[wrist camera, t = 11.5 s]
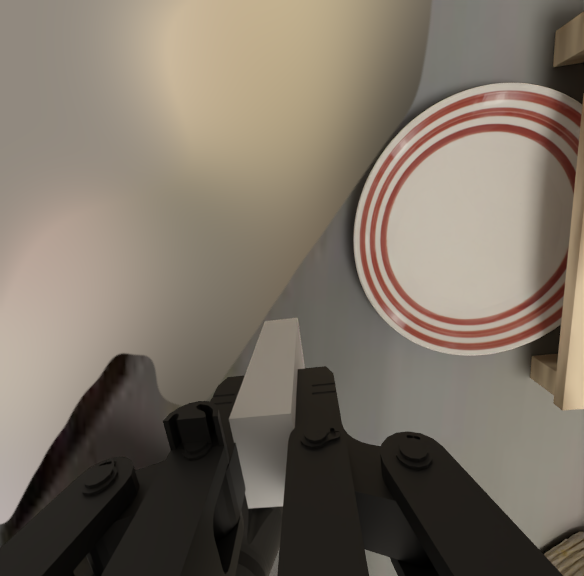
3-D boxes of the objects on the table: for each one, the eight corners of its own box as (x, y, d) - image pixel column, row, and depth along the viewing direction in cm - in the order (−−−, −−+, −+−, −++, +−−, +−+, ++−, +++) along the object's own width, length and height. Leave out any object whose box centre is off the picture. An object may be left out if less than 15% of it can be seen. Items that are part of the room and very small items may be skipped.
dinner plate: (555, 32, 29) (586, 10, 26) (635, 276, 34) (669, 283, 31) (305, 185, 33) (305, 182, 30) (410, 379, 39) (419, 394, 36)
